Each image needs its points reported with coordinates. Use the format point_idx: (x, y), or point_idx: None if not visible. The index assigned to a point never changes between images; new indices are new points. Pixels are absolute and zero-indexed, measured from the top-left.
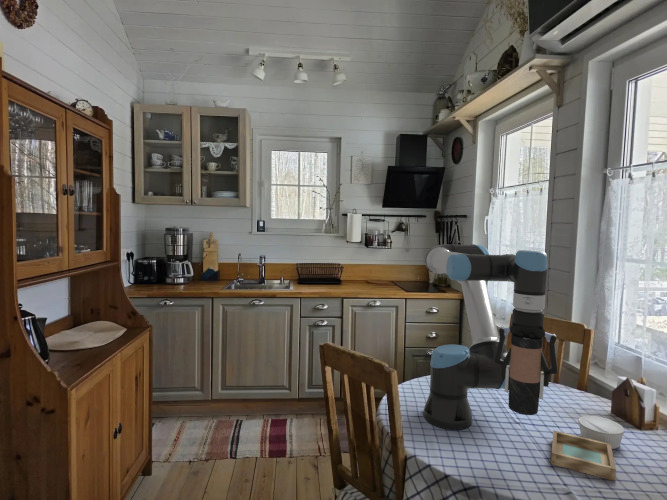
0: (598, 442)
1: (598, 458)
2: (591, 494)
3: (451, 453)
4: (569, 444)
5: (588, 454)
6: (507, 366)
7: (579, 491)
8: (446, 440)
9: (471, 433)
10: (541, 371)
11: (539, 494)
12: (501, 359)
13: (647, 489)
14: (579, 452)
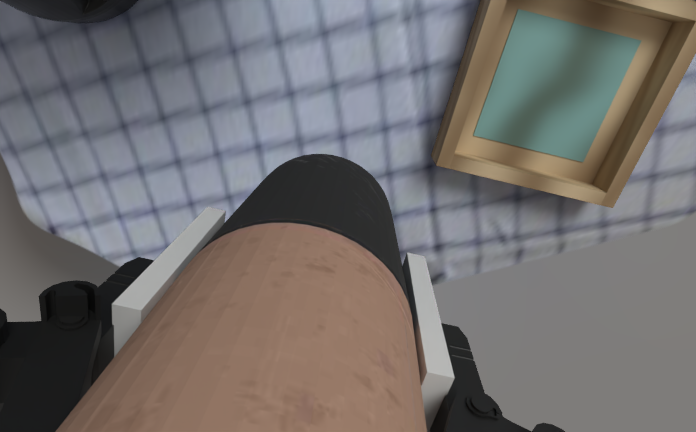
0: (668, 12)
1: (609, 90)
2: (491, 270)
3: (141, 189)
4: (545, 4)
5: (585, 71)
6: (119, 336)
7: (465, 266)
8: (107, 112)
9: (178, 22)
10: (427, 376)
11: None
12: (6, 369)
13: (667, 207)
14: (556, 67)
